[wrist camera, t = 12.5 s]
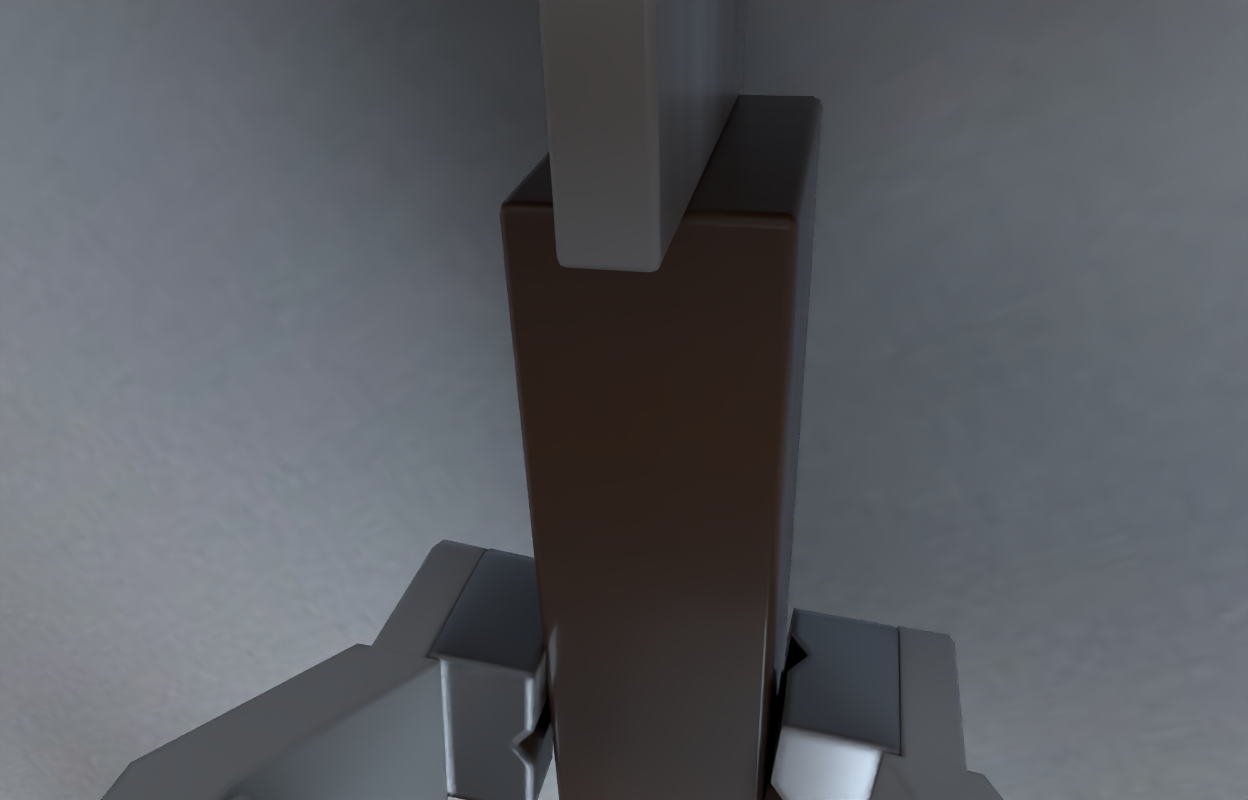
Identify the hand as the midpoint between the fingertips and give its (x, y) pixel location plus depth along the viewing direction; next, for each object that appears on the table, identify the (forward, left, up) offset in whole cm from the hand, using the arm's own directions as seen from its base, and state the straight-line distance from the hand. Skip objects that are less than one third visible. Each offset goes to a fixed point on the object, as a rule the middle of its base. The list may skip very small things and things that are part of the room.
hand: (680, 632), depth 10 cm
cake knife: (-6, 0, -1) cm, 6 cm away
